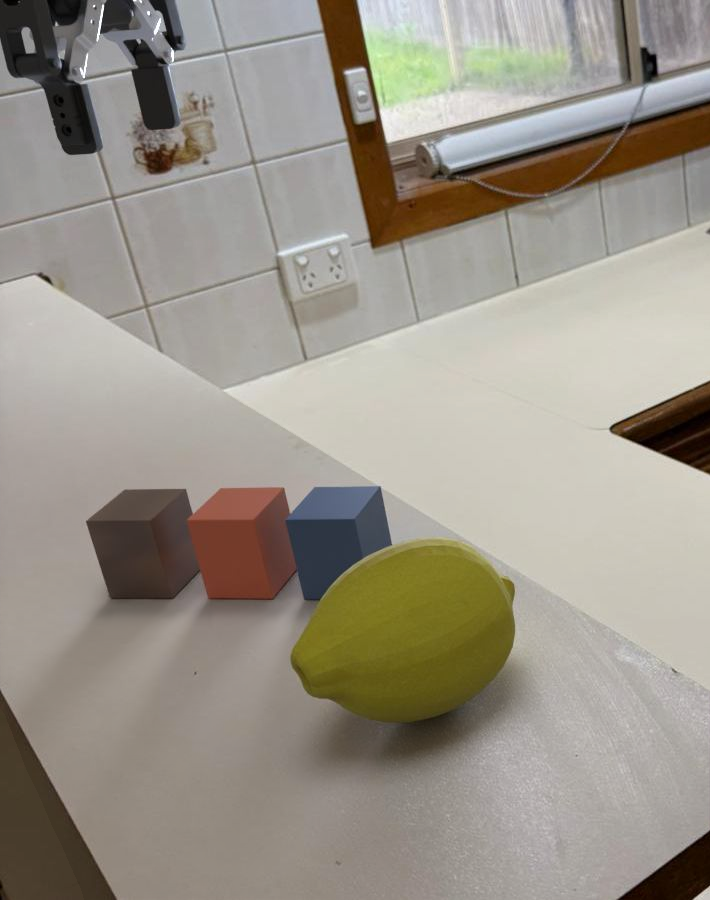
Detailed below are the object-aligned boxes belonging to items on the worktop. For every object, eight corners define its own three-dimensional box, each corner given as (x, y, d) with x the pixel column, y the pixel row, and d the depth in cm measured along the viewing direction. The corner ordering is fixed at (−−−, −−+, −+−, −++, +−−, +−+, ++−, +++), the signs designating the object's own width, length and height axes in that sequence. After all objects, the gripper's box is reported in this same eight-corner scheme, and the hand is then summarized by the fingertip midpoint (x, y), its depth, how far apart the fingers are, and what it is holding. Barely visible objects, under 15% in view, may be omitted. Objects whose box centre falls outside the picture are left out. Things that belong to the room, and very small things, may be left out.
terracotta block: (207, 598, 64) (185, 520, 62) (240, 563, 68) (220, 487, 66) (273, 599, 63) (253, 519, 61) (302, 563, 67) (284, 486, 65)
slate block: (303, 599, 63) (284, 519, 61) (331, 563, 67) (314, 486, 65) (371, 600, 62) (354, 519, 60) (396, 563, 66) (380, 485, 64)
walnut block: (109, 598, 65) (85, 521, 63) (146, 563, 69) (124, 489, 67) (172, 598, 65) (150, 520, 63) (206, 563, 68) (186, 488, 66)
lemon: (496, 627, 58) (474, 487, 55) (565, 703, 52) (545, 549, 49) (288, 704, 54) (251, 557, 51) (336, 797, 47) (296, 635, 44)
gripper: (69, -149, 69) (135, 125, 76) (-105, -165, 57) (-7, 166, 63) (180, -162, 68) (238, 118, 74) (28, -182, 55) (114, 159, 62)
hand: (126, 140), depth 69 cm, fingers open, 8 cm apart
